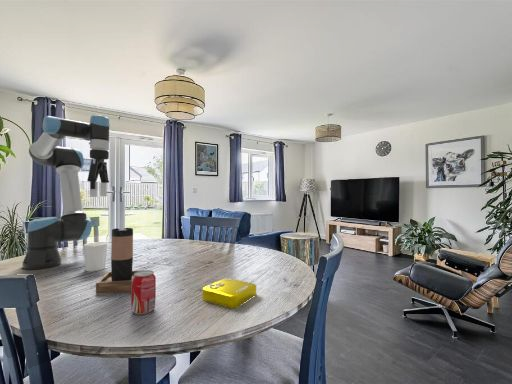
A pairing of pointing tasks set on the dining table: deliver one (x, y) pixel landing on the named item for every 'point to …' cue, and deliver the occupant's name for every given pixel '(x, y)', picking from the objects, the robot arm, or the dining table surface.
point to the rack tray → (113, 284)
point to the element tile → (229, 292)
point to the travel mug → (122, 254)
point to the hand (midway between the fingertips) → (98, 196)
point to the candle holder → (95, 256)
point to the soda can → (143, 292)
